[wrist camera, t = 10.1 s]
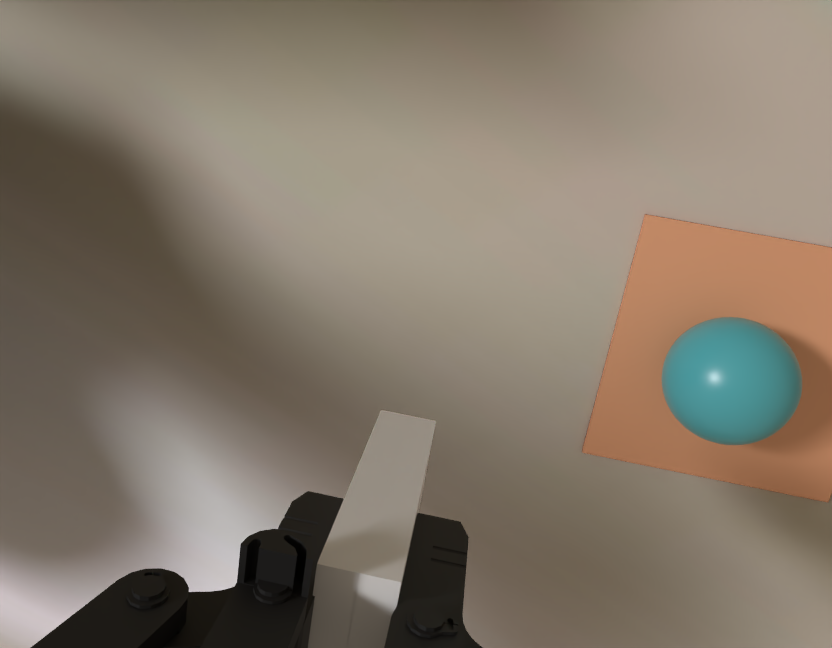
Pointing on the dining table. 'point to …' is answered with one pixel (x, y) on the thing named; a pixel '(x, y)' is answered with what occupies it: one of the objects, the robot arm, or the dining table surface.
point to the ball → (731, 381)
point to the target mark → (700, 301)
